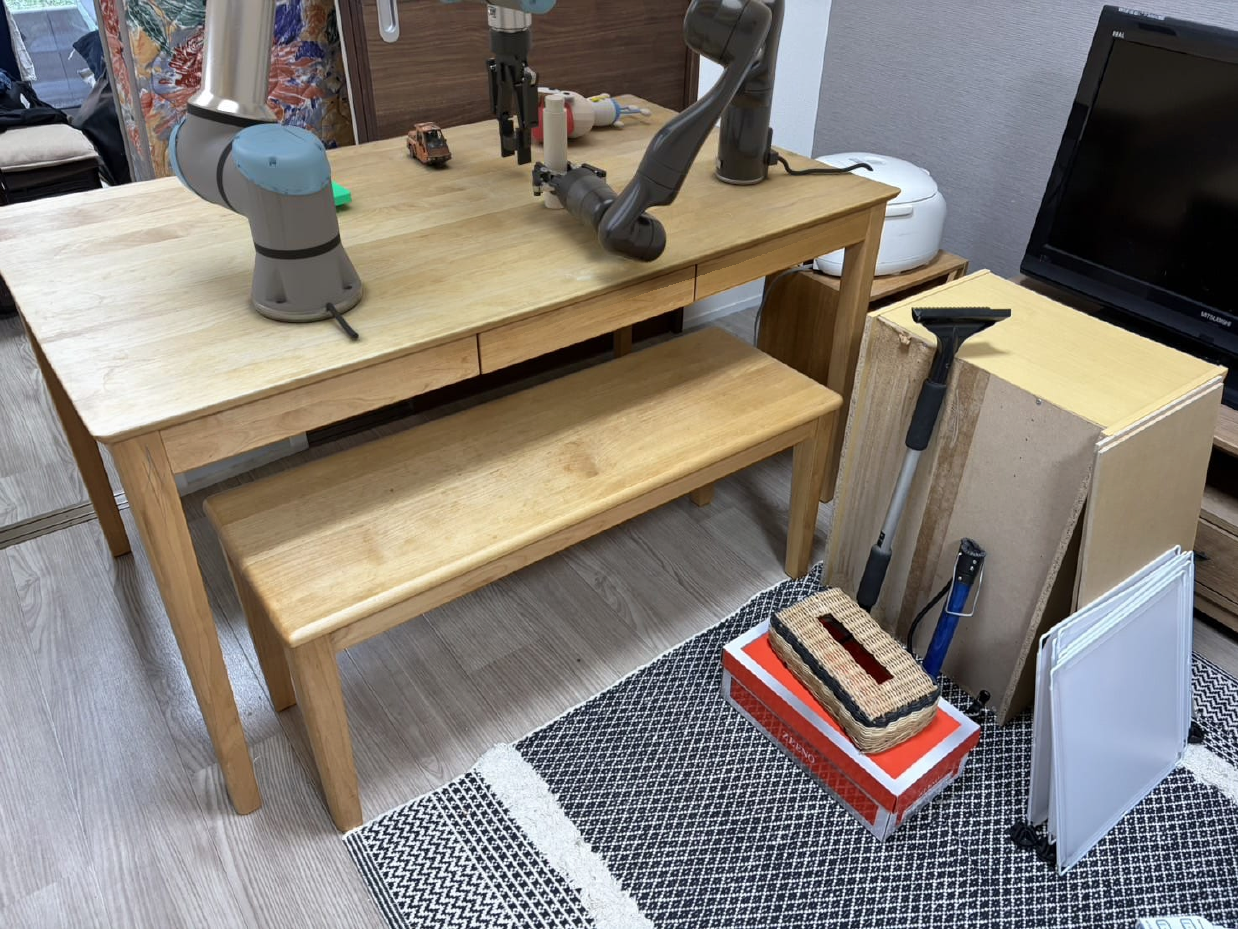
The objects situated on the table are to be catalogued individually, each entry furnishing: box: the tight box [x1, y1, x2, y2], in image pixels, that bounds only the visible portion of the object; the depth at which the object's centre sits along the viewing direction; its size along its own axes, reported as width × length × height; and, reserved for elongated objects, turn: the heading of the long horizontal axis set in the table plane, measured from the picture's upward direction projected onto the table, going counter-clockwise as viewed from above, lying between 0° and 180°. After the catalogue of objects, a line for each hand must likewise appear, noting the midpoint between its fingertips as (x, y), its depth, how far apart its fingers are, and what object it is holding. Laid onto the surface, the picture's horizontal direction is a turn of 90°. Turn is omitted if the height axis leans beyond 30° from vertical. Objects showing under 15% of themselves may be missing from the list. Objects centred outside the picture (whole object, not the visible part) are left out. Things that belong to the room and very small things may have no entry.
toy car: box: [405, 121, 453, 169], centre depth 181 cm, size 6×12×7 cm, turn 39°
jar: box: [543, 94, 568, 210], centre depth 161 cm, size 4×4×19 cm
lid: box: [503, 130, 517, 152], centre depth 174 cm, size 5×5×2 cm
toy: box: [531, 86, 652, 143], centre depth 198 cm, size 18×10×30 cm
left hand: (516, 159), depth 176 cm, fingers closed on lid, 5 cm apart
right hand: (549, 165), depth 165 cm, fingers closed on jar, 4 cm apart
